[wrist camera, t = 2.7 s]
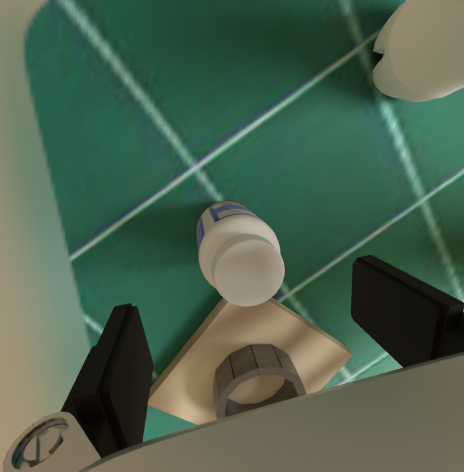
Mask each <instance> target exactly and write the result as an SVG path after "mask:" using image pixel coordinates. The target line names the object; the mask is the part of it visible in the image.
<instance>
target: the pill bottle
mask: <svg viewBox="0 0 464 472" xmlns="http://www.w3.org/2000/svg"><path fill="white" fill-rule="evenodd" d="M196 236H197V246H198V257H199V263H200V268H201V270H202V273H203V275H204V276H205V278H206V279H207V281H208V282H209V283H210V284H211V285H212V286H213V287H215V288H216V289H217V291H218V292H219V294H220V295H221V296H222V297H223V298H224V299H225V300H227V301H228V302H230V303H232V304H235V305H238V306H255V305H258V304H261V303H263V302H265V301H267V300H268V299H270V298H271V297H272V296H273V295H274V294H275V293H276V292H277V291H278V289H279V288H280V286H281V284H282V282H283V279H284V273H285V268H284V262H283V259H282V257H281V255H280V246H279V242H278V240H277V237H276V235H275V233H274V232H273V230H272V229H271V228H270V227H269V226H268V225H267V224H266V223H265V222H264V221H262V220H261V219H260V218H259V217H258V216H256V215H255V214H254V213H252V212H251V211H250V210H249V209H247V208H246V207H245V206H243V205H241V204H239V203H237V202H232V201H223V202H219V203H216V204H214V205H212V206H210V207H209V208H208V209H206V210H205V211H204V212H203V214H202V215H201V217H200V219H199V221H198V224H197V230H196Z"/></svg>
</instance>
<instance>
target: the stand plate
mask: <svg viewBox="0 0 464 472" xmlns="http://www.w3.org/2000/svg"><path fill="white" fill-rule="evenodd" d="M251 344H272V345H274V346H276V347H277V348H279V349H281V350H283V351H284V352H286V353H288V355H289V357H290V359H291V361H292V362H293V364H294V366H295V368H296V370H297V372H298V374H299V376H300V379H301V381H302V383H303V386H304V388H305V391H306V394H310V393H313V392H317V391H320V390H321V389H322V387H323V386H324V385H325V384H326V383H327V382H328V381H329V380H330V379H331V378H332V377H333V376H334V375H335V374H336V373H337V372H338V370H339V369H340V368H341V367H342V366H343V365H344V364H345V363H346V362H347V361H348V360H349V359H350V358H351V357H352V356H353V354H352V353H351V352H350V351H349V349H348V348H347V347H346V346H345V345H344V344H342V343H341V342H339V341H338V340H336V339H335V338H333V337H332V336H330V335H329V334H327V333H325V332H324V331H322V330H321V329H319V328H318V327H316V326H315V325H313V324H312V323H310V322H309V321H307V320H306V319H304V318H303V317H301V316H299V315H298V314H296V313H295V312H293V311H292V310H290V309H289V308H287V307H286V306H284V305H283V304H281V303H280V302H278V301H276V300H275V299H273V298H272V297H271V298H270V299H268V300H267V301H265V302H263V303H261V304H258V305H255V306H238V305H235V304H232V303H230V302H228V301H227V300H225V299H224V298H222V299H221V301H220V302H219V303H218V304H217V305H216V307H215V308H214V309H213V310H212V312H211V313H210V314H209V315H208V317H207V318H206V319H205V320H204V322H203V323H202V324H201V325H200V327H199V328H198V329H197V330H196V332H195V333H194V334H193V335H192V336H191V338H190V339H189V340H188V341H187V343H186V344H185V345H184V346H183V348H182V349H181V350H180V351H179V353H178V354H177V355H176V356H175V358H174V359H173V360H172V361H171V363H170V364H169V365H168V366H167V368H166V369H165V370H164V371H163V372H162V374H161V375H160V376H159V377H158V379H157V380H156V381H155V382H154V384H153V385H152V386H151V387H150V392H149V399H148V405H149V406H152V407H154V408H157V409H159V410H162V411H164V412H167V413H169V414H172V415H174V416H177V417H179V418H182V419H185V420H187V421H190V422H192V423H195V424H197V425H200V424H204V423H207V422H210V421H214V420H217V418H216V415H215V405H214V395H213V383H214V376H215V371H216V369H217V368H218V366H219V365H220V364H221V363H222V362H223V361H224V359H225V358H226V357H227V356H228V355H230V353H232V352H234V351H237V350H239V349H241V348H243V347H245V346H248V345H251ZM284 381H285V378H284V377H282V376H280V375H258V376H256V377H254V378H251V379H249V380H247V381H245V382H243V383H240V384H239V385H238V386H237V387H236V389H235V390H234V391H233V392H232V393H231V394H230V395H229V397H228V399H231V400H233V401H235V402H237V403H240V404H255V403H259V402H261V401H264V400H266V399H268V398H270V397H272V396H274V394H275V393H276V392H277V391H278V390H279V389H280V388H281V387H282V386H283V385H284Z"/></svg>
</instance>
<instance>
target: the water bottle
mask: <svg viewBox="0 0 464 472" xmlns="http://www.w3.org/2000/svg"><path fill="white" fill-rule="evenodd" d="M373 51H374V52H377V53H380V54H384V56H383V58H382V59H381V60H380V61H379V62H378V64H377V65H376V66H375V68H374V70H373V73H372V74H373V82H374V84H375V86H376V87H377V89H378V90H379V91H380V92H382V93H383V94H385V95H388V96H390V97H393V98H398V99H401V100H403V101H408V102H423V101H428V100H432V99H436V98H441V97H444V96H446V95H448V94H450V93H452V92H454V91H456V90H458V89H460V88H463V87H464V0H406V1H405V2H403V3H402V4H401V5H400V6H399V8H398V9H397V10H396V11H395V12H394V13H393V14H392V15H391V17H390V18H389V19H388V21H387V22H386V23H385V25H384V26H383V28H382V30H381V31H380V33H379V35H378V37H377V39H376V41H375V45H374V50H373Z"/></svg>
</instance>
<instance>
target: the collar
mask: <svg viewBox="0 0 464 472" xmlns="http://www.w3.org/2000/svg"><path fill="white" fill-rule="evenodd" d="M258 375H280V376H282V377H284V378H285V381H284V385H283V386H282V387H281V388H280V389H279V390H278V391H277V392H276V393H275V394H274V396H272V397H270V398H268V399H266V400H264V401H261V402H259V403H255V404H240V403H237V402H235V401H233V400H231V399H228V397H229V395H230V394H231V393H232V392H233V391H234V390H235V389H236V387H237V386H238V385H239V384H240V383H243V382H245V381H247V380H249V379H251V378H254V377H256V376H258ZM213 395H214V405H215V415H216V418H217V419H221V418H224V417H228V416H231V415H235V414H238V413H242V412H246V411H249V410H253V409H256V408H260V407H263V406H267V405H270V404H274V403H277V402H281V401H284V400H288V399H292V398H295V397H299V396H302V395H306V391H305V388H304V386H303V383H302V381H301V379H300V376H299V374H298V372H297V370H296V368H295V366H294V364H293V362H292V361H291V359H290V357H289V355H288V353H286V352H284V351H283V350H281V349H279V348H277V347H276V346H274V345H272V344H251V345H248V346H245V347H243V348H241V349H239V350H237V351H234V352H232V353H230V355H228V356H227V357H226V358H225V359H224V361H223V362H222V363H221V364H220V365H219V366H218V368H217V369H216V371H215V376H214V383H213Z"/></svg>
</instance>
